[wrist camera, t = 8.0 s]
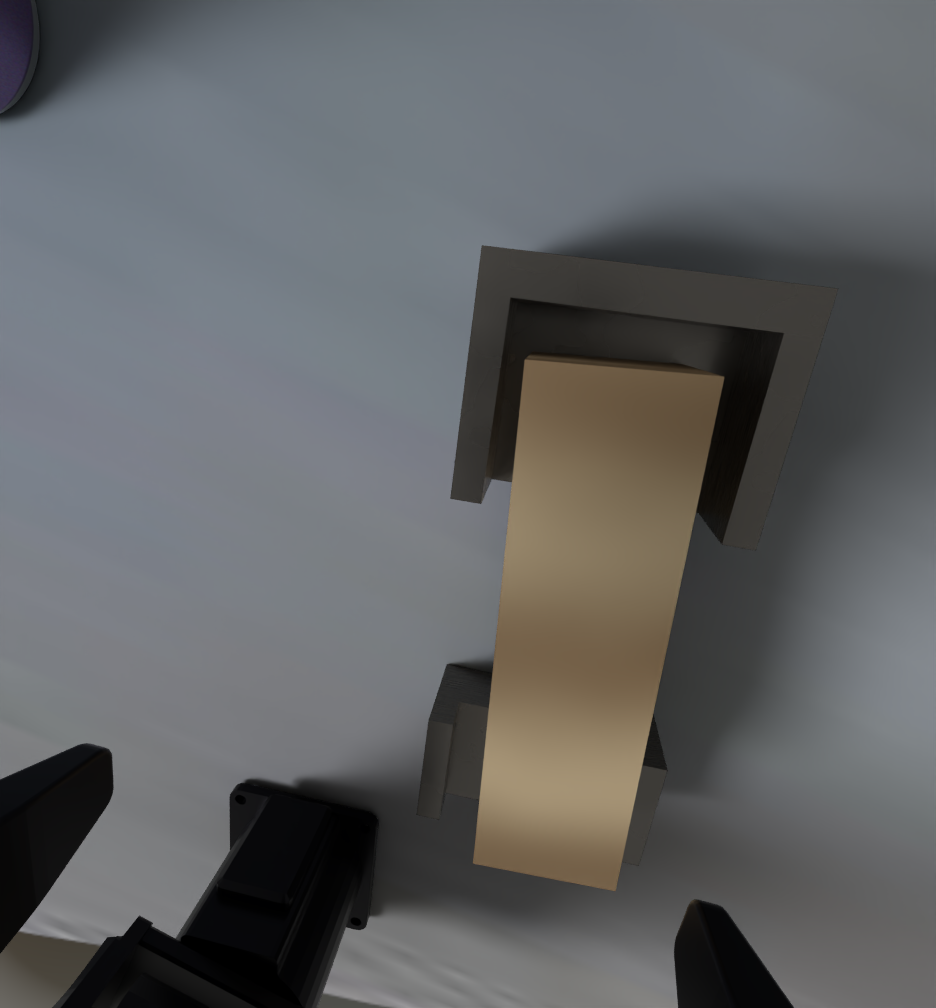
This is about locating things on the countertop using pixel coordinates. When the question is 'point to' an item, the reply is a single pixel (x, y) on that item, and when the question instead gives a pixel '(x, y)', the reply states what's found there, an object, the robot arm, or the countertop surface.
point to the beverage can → (17, 49)
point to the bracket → (647, 337)
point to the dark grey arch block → (462, 746)
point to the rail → (587, 605)
